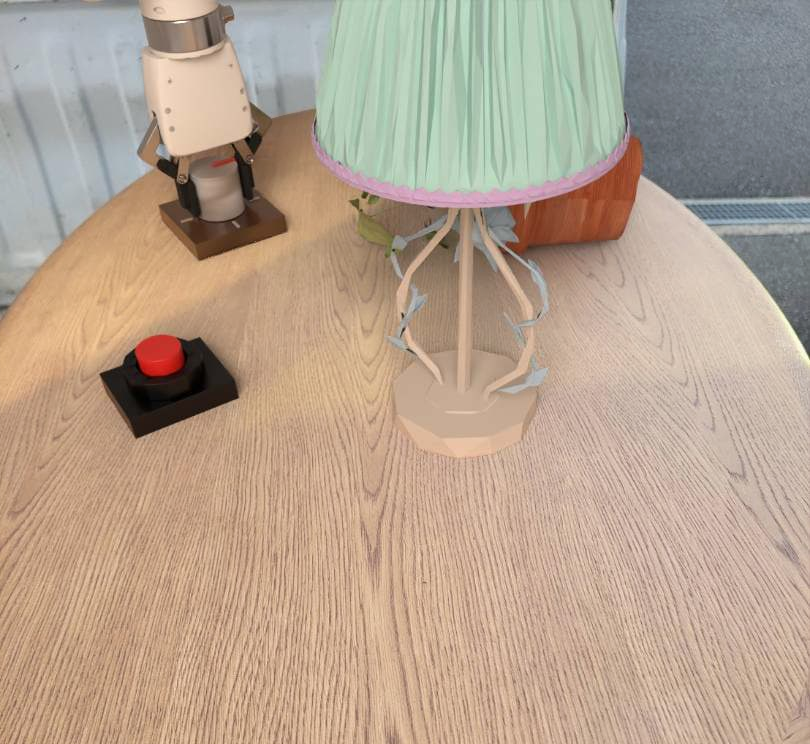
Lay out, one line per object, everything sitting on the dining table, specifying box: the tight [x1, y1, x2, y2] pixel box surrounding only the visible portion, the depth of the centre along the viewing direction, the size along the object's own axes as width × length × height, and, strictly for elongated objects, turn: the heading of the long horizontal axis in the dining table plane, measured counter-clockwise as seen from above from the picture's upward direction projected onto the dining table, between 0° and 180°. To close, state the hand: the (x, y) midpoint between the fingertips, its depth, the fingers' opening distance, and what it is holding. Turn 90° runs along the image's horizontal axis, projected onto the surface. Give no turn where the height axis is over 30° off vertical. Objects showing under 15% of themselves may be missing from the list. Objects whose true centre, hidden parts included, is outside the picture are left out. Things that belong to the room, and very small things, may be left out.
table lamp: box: [310, 0, 632, 460], centre depth 63 cm, size 22×22×40 cm
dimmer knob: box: [188, 155, 245, 222], centre depth 98 cm, size 6×6×5 cm
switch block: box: [99, 336, 240, 440], centre depth 79 cm, size 10×8×4 cm
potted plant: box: [348, 135, 644, 258], centre depth 91 cm, size 16×15×35 cm
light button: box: [135, 334, 185, 376], centre depth 77 cm, size 4×4×2 cm
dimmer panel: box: [158, 187, 288, 261], centre depth 101 cm, size 11×11×2 cm
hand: (219, 202), depth 99 cm, fingers open, 5 cm apart
